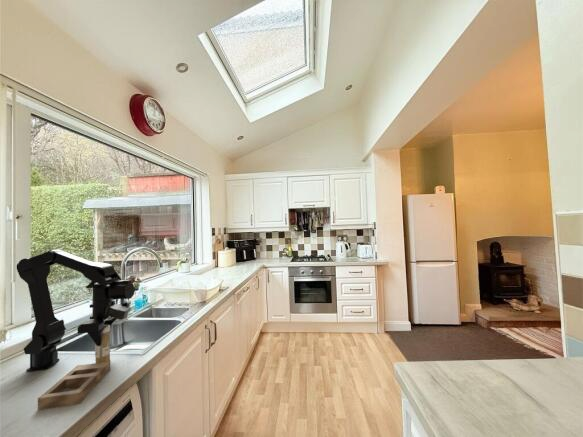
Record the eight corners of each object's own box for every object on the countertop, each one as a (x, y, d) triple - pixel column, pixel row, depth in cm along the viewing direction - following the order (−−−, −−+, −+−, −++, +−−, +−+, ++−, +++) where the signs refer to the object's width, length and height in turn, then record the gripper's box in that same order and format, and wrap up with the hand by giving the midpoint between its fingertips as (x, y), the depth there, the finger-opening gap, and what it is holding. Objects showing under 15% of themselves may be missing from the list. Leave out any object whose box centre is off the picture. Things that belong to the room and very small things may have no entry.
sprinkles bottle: (110, 364, 92) (109, 326, 92) (94, 368, 89) (94, 329, 90) (110, 359, 95) (110, 323, 96) (95, 363, 93) (95, 325, 93)
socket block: (37, 409, 69) (37, 398, 69) (77, 374, 86) (77, 365, 86) (79, 403, 71) (79, 392, 71) (110, 370, 88) (110, 361, 88)
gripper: (114, 305, 85) (114, 352, 85) (136, 291, 104) (137, 330, 103) (76, 308, 83) (76, 356, 83) (106, 293, 102) (106, 333, 101)
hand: (102, 342), depth 92 cm, fingers closed on sprinkles bottle, 4 cm apart
